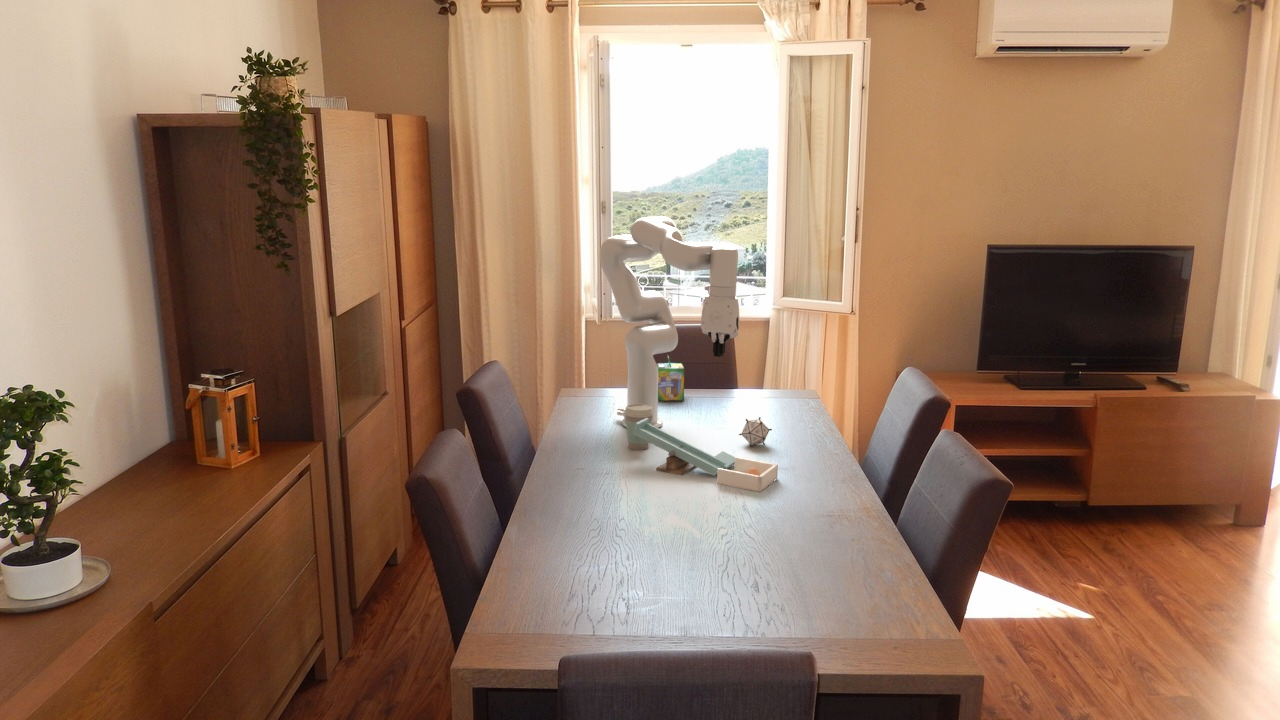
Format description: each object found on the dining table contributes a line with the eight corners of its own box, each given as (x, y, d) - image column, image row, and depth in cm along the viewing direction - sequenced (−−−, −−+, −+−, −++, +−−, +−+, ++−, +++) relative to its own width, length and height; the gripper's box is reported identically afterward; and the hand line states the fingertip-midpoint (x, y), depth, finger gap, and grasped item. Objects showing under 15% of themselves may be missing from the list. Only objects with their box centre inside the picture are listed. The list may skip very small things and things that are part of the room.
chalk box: (684, 401, 325) (685, 359, 321) (657, 401, 325) (658, 358, 321) (682, 394, 334) (683, 353, 330) (656, 394, 334) (657, 353, 330)
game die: (760, 458, 278) (773, 438, 271) (733, 447, 277) (746, 427, 270) (763, 436, 284) (777, 416, 277) (737, 426, 284) (750, 405, 277)
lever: (629, 435, 258) (633, 424, 257) (656, 421, 271) (660, 411, 270) (713, 478, 247) (717, 467, 246) (737, 462, 261) (741, 451, 259)
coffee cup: (654, 443, 278) (655, 403, 276) (651, 452, 270) (652, 411, 267) (625, 441, 279) (626, 402, 276) (622, 450, 271) (622, 410, 268)
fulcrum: (656, 469, 255) (656, 456, 254) (673, 459, 264) (673, 446, 263) (682, 475, 251) (682, 461, 250) (699, 464, 260) (699, 451, 259)
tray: (717, 483, 246) (717, 468, 245) (735, 470, 256) (735, 456, 255) (760, 492, 240) (760, 477, 239) (777, 479, 250) (777, 464, 249)
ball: (742, 480, 246) (745, 467, 245) (748, 476, 249) (751, 464, 248) (755, 485, 245) (758, 473, 244) (760, 481, 248) (763, 469, 247)
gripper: (692, 290, 263) (688, 354, 267) (741, 296, 256) (737, 362, 260) (704, 286, 269) (700, 349, 273) (752, 293, 262) (748, 357, 266)
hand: (718, 355), depth 267 cm, fingers closed
